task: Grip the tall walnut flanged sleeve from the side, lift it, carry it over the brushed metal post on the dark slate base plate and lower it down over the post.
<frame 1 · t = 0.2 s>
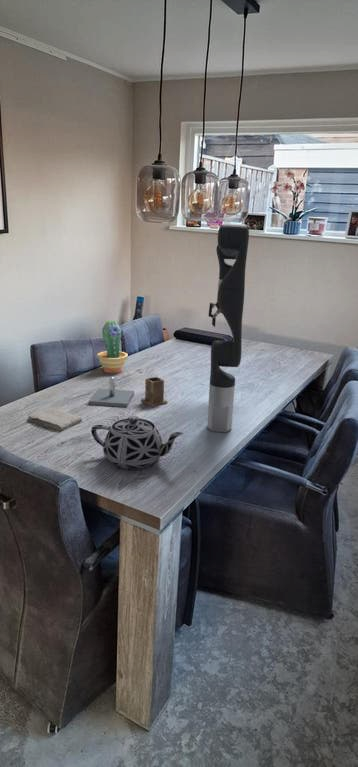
hand: (224, 327, 226), 29 cm above the table, tool pointing down, fingers open, 8 cm apart
flanged sleeve: (154, 402, 217), on the table
washcloth: (54, 422, 194), on the table
post plate: (112, 399, 218), on the table
potted cactus: (112, 370, 258), on the table
teapot: (136, 461, 165), on the table
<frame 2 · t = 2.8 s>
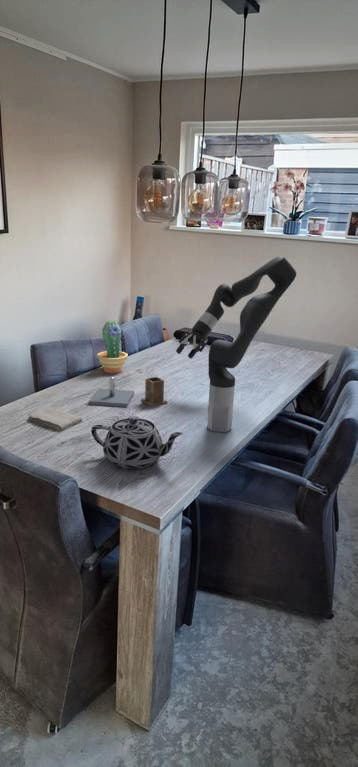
hand: (183, 355, 218), 19 cm above the table, tool tilted 45°, fingers open, 8 cm apart
nothing on the table moved.
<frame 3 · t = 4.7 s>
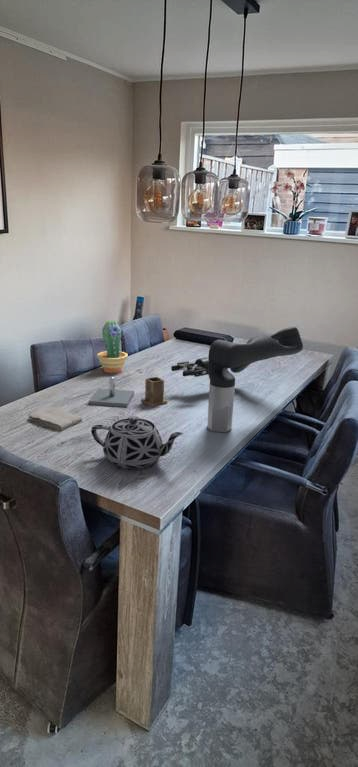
hand: (177, 371, 219), 12 cm above the table, tool horizontal, fingers open, 8 cm apart
nothing on the table moved.
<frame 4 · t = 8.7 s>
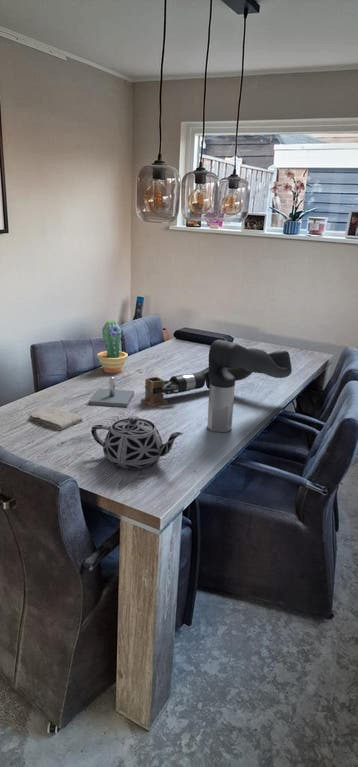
hand: (149, 389, 213), 6 cm above the table, tool horizontal, fingers closed on flanged sleeve, 5 cm apart
flanged sleeve: (154, 402, 217), on the table, touching gripper
everything else where it was.
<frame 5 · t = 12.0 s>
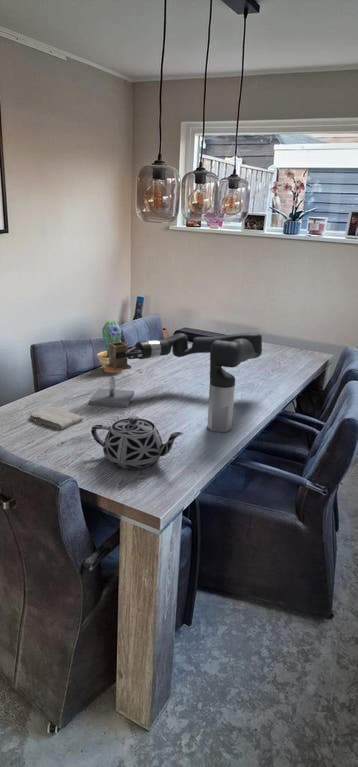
hand: (112, 354, 211), 20 cm above the table, tool horizontal, fingers closed on flanged sleeve, 5 cm apart
flanged sleeve: (118, 367, 215), point 14 cm above the table, touching gripper
everything else where it was.
when the fingers open (9 cm above the table, at t = 15.4 s): flanged sleeve drops 1 cm, resting on post plate.
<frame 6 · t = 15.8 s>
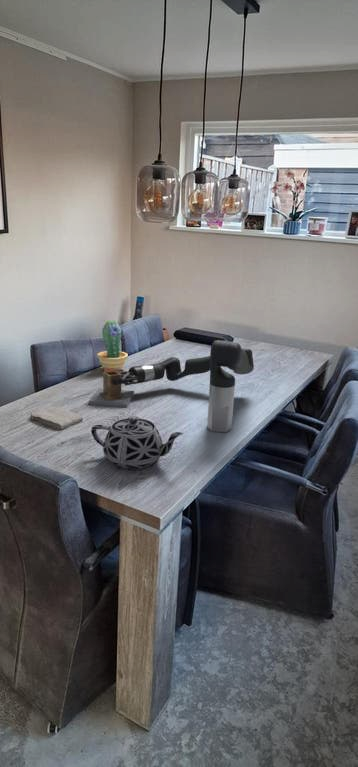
hand: (108, 379, 214), 9 cm above the table, tool horizontal, fingers open, 8 cm apart
flanged sleeve: (112, 395, 217), point 1 cm above the table, touching post plate
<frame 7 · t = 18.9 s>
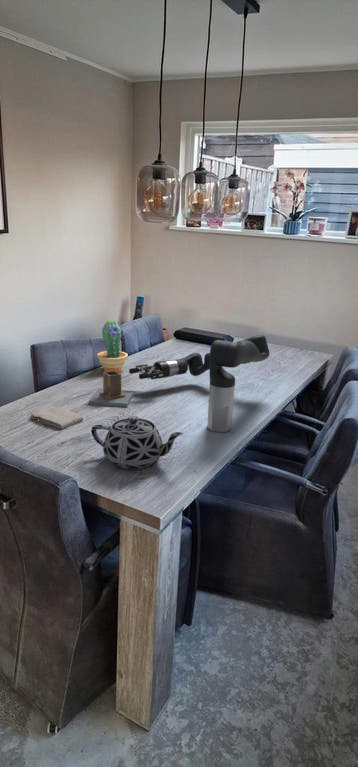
hand: (134, 373, 221), 10 cm above the table, tool horizontal, fingers open, 8 cm apart
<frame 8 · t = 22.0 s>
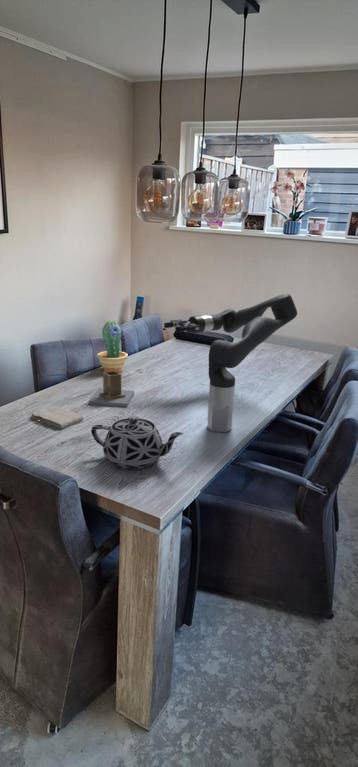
hand: (170, 327, 217), 30 cm above the table, tool horizontal, fingers open, 8 cm apart
at the end: flanged sleeve 0.0 cm off-centre on the post plate, point 1.5 cm above the post plate's base; flanged sleeve tilted 0°; the gripper is holding nothing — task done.
